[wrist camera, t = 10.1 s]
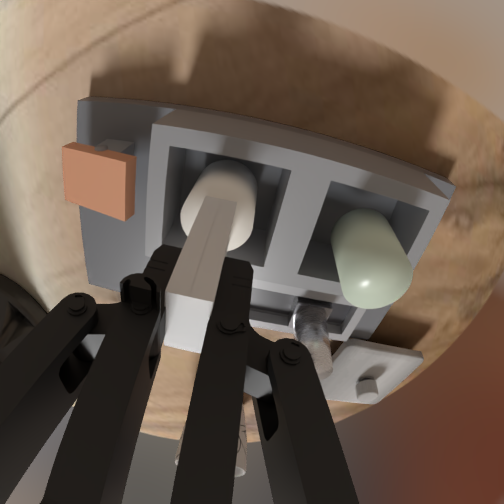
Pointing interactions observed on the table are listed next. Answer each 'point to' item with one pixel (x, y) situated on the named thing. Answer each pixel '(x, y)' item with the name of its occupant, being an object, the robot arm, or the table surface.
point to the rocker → (100, 179)
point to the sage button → (369, 259)
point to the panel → (267, 203)
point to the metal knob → (313, 331)
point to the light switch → (368, 371)
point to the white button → (225, 197)
